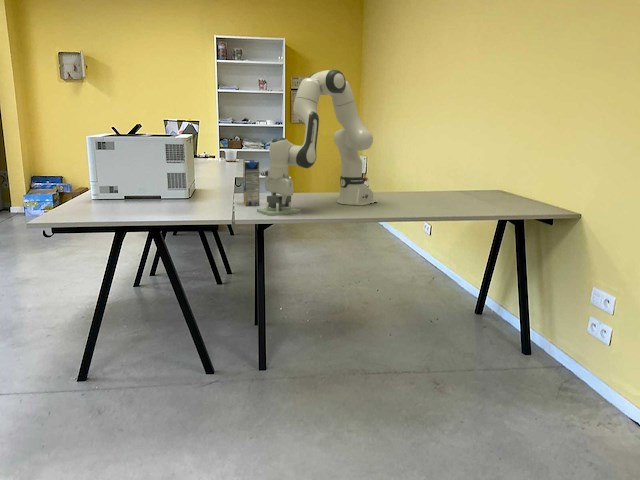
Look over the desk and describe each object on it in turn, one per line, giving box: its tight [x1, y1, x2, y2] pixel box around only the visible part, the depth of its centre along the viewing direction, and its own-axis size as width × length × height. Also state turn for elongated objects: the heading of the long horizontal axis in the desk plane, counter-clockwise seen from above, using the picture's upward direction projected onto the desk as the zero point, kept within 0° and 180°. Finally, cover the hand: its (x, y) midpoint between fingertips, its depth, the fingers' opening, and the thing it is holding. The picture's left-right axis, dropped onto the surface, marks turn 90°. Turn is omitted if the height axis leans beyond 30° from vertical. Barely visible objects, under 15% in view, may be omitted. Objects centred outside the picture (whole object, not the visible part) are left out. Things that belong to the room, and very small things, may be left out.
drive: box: [266, 194, 292, 208], centre depth 227 cm, size 10×6×5 cm, turn 126°
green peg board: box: [256, 201, 302, 217], centre depth 228 cm, size 17×12×5 cm
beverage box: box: [242, 159, 260, 207], centre depth 245 cm, size 7×11×22 cm, turn 14°
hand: (279, 202), depth 228 cm, fingers closed on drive, 6 cm apart
